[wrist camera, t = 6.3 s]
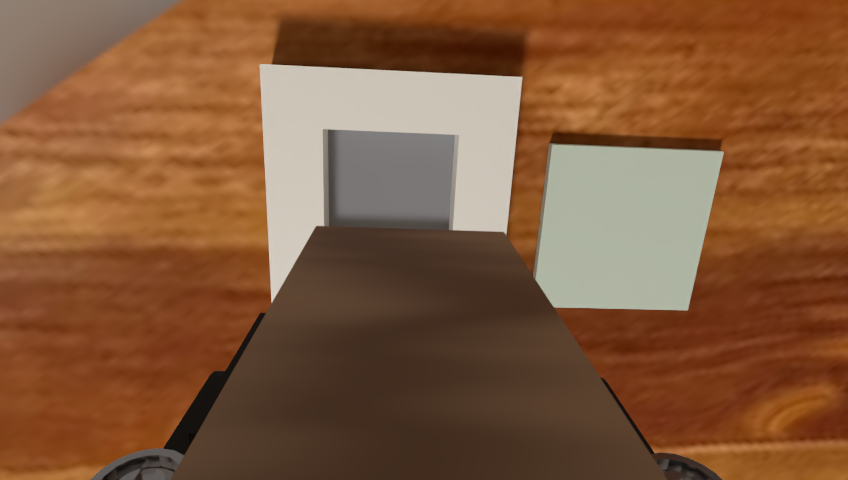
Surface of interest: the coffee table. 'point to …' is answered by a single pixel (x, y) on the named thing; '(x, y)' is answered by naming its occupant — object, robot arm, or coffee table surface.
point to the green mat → (623, 225)
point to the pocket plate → (383, 152)
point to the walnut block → (414, 373)
